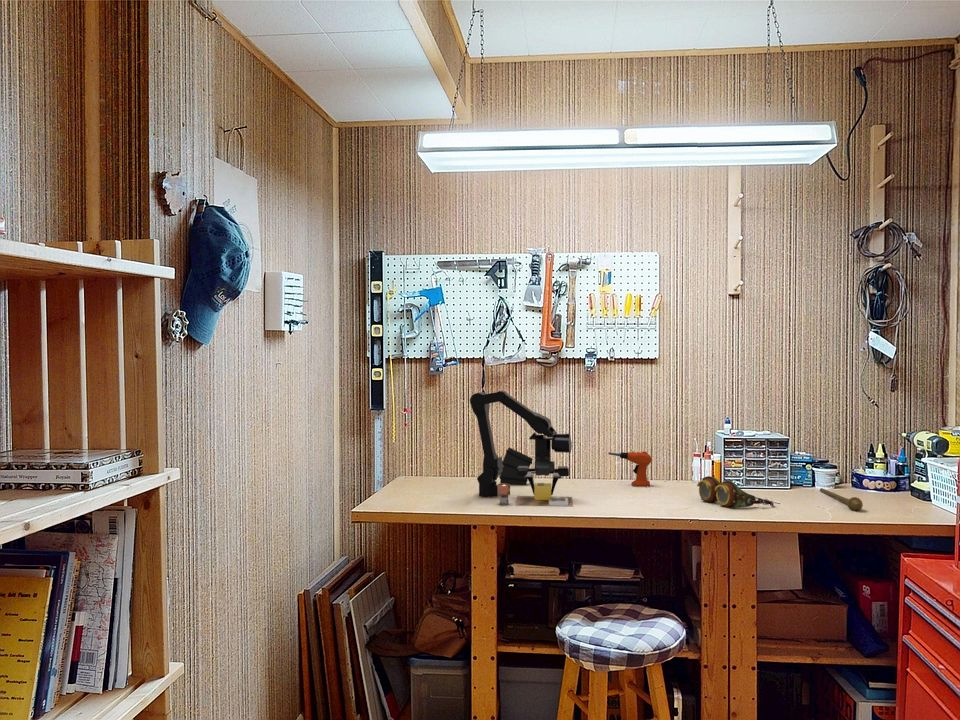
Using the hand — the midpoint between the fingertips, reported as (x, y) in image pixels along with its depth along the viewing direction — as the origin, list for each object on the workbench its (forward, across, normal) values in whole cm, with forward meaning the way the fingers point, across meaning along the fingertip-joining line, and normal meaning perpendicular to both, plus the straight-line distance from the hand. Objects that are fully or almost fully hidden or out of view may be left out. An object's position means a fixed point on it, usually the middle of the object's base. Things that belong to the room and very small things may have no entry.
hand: (543, 494), depth 255 cm
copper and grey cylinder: (+2, -14, -10) cm, 17 cm away
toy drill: (+3, +34, +34) cm, 48 cm away
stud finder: (+1, 0, 0) cm, 1 cm away
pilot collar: (+1, +6, -8) cm, 10 cm away
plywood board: (+2, 0, -4) cm, 5 cm away
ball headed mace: (+4, +106, +10) cm, 107 cm away
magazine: (+3, -12, +32) cm, 34 cm away
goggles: (+3, +69, +5) cm, 69 cm away
